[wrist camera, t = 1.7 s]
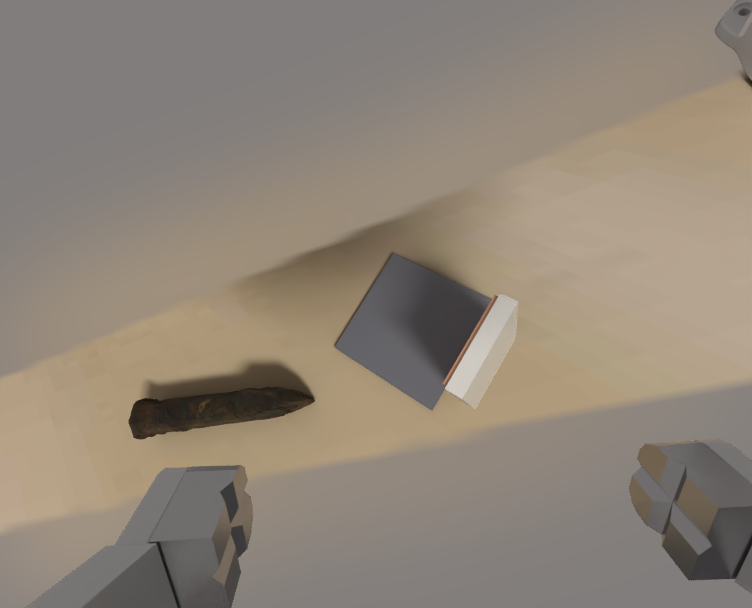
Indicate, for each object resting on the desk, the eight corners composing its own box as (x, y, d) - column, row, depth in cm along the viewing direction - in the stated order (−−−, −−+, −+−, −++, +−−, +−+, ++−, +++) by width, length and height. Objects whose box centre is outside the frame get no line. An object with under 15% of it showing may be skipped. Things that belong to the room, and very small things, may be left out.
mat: (394, 254, 40) (393, 253, 39) (494, 302, 35) (494, 301, 35) (336, 348, 38) (334, 347, 38) (432, 410, 34) (431, 410, 33)
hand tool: (155, 438, 42) (116, 439, 38) (161, 400, 43) (123, 396, 39) (317, 430, 37) (292, 430, 33) (317, 387, 38) (294, 381, 34)
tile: (499, 329, 34) (495, 291, 25) (515, 337, 34) (518, 301, 25) (459, 399, 33) (440, 386, 24) (475, 409, 33) (461, 399, 24)
